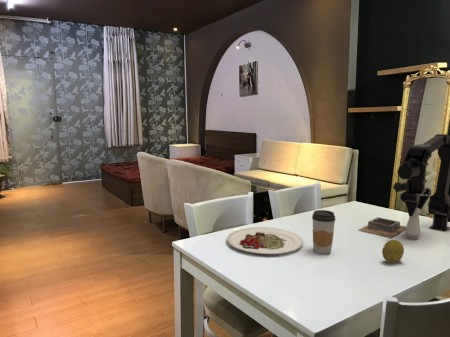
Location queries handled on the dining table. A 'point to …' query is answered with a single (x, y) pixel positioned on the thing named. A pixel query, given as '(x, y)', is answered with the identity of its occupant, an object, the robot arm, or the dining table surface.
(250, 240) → the plated food
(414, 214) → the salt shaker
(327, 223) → the coffee cup
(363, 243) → the dining table surface
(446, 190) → the robot arm
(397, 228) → the brown tray
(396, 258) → the ochre rounded piece
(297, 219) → the dining table surface
